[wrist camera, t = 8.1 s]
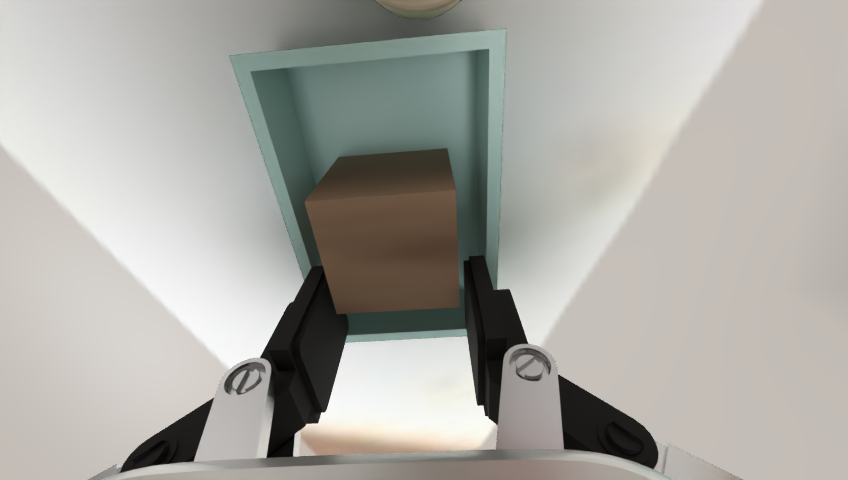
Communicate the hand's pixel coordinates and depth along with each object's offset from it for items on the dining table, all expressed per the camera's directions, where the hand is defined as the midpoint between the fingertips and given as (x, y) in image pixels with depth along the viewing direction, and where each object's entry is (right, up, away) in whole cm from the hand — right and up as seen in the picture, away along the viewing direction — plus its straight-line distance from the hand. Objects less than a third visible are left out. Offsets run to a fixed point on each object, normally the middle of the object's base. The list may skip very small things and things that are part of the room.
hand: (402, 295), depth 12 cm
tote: (0, +4, +1) cm, 4 cm away
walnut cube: (0, +1, 0) cm, 1 cm away
